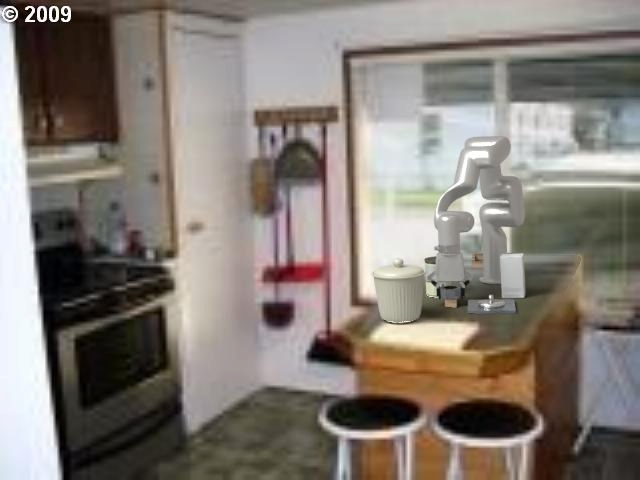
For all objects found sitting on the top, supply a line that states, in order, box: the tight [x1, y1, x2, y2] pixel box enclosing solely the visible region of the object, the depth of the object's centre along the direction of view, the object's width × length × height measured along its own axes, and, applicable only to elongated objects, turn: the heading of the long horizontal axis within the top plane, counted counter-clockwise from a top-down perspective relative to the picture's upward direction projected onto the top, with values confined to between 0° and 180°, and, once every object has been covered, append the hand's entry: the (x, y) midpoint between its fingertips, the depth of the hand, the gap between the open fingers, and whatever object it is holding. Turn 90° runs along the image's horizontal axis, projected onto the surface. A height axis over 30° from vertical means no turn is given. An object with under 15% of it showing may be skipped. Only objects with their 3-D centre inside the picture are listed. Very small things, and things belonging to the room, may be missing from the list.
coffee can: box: [424, 255, 454, 299], centre depth 298 cm, size 10×10×14 cm
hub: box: [467, 294, 517, 315], centre depth 275 cm, size 16×16×4 cm
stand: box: [444, 299, 458, 308], centre depth 282 cm, size 6×4×4 cm, turn 168°
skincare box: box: [500, 253, 526, 299], centre depth 289 cm, size 8×7×16 cm
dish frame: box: [471, 252, 517, 270], centre depth 353 cm, size 20×19×3 cm
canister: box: [371, 257, 426, 322], centre depth 265 cm, size 18×18×21 cm
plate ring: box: [440, 284, 461, 300], centre depth 282 cm, size 7×7×4 cm
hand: (450, 298), depth 282 cm, fingers closed on plate ring, 7 cm apart
